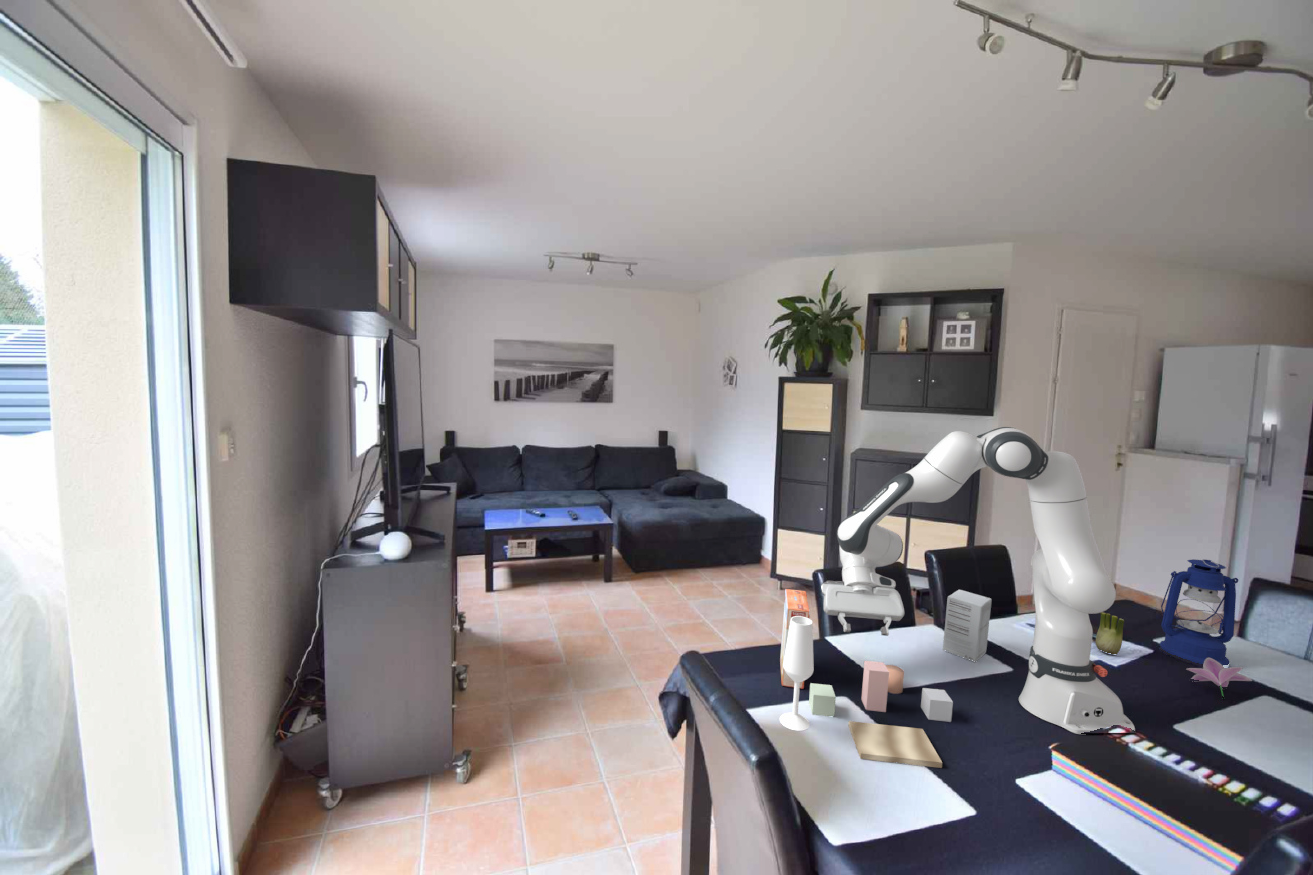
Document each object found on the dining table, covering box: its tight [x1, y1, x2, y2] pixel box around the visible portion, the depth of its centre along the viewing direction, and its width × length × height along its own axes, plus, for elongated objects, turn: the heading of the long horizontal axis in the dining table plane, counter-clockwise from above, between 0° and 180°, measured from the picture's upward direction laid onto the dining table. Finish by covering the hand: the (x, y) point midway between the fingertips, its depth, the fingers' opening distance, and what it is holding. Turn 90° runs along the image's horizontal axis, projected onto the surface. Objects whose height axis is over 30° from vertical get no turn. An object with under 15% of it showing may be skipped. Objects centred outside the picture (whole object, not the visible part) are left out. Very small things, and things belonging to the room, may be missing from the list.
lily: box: [1185, 658, 1253, 698], centre depth 144 cm, size 12×12×10 cm
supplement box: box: [942, 589, 992, 663], centre depth 161 cm, size 10×9×17 cm
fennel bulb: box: [1095, 611, 1126, 655], centre depth 164 cm, size 6×5×12 cm
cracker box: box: [779, 588, 811, 690], centre depth 144 cm, size 14×6×21 cm, turn 168°
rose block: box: [860, 660, 889, 713], centre depth 132 cm, size 4×4×10 cm
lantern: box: [1159, 559, 1239, 665], centre depth 163 cm, size 17×15×30 cm
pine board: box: [847, 720, 943, 769], centre depth 117 cm, size 16×11×1 cm
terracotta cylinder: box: [885, 664, 905, 695], centre depth 140 cm, size 5×5×5 cm
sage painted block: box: [808, 682, 837, 718], centre depth 129 cm, size 5×5×5 cm
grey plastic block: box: [920, 687, 954, 723], centre depth 129 cm, size 5×5×5 cm
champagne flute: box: [779, 616, 815, 732], centre depth 123 cm, size 7×7×24 cm
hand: (866, 633), depth 141 cm, fingers open, 8 cm apart
